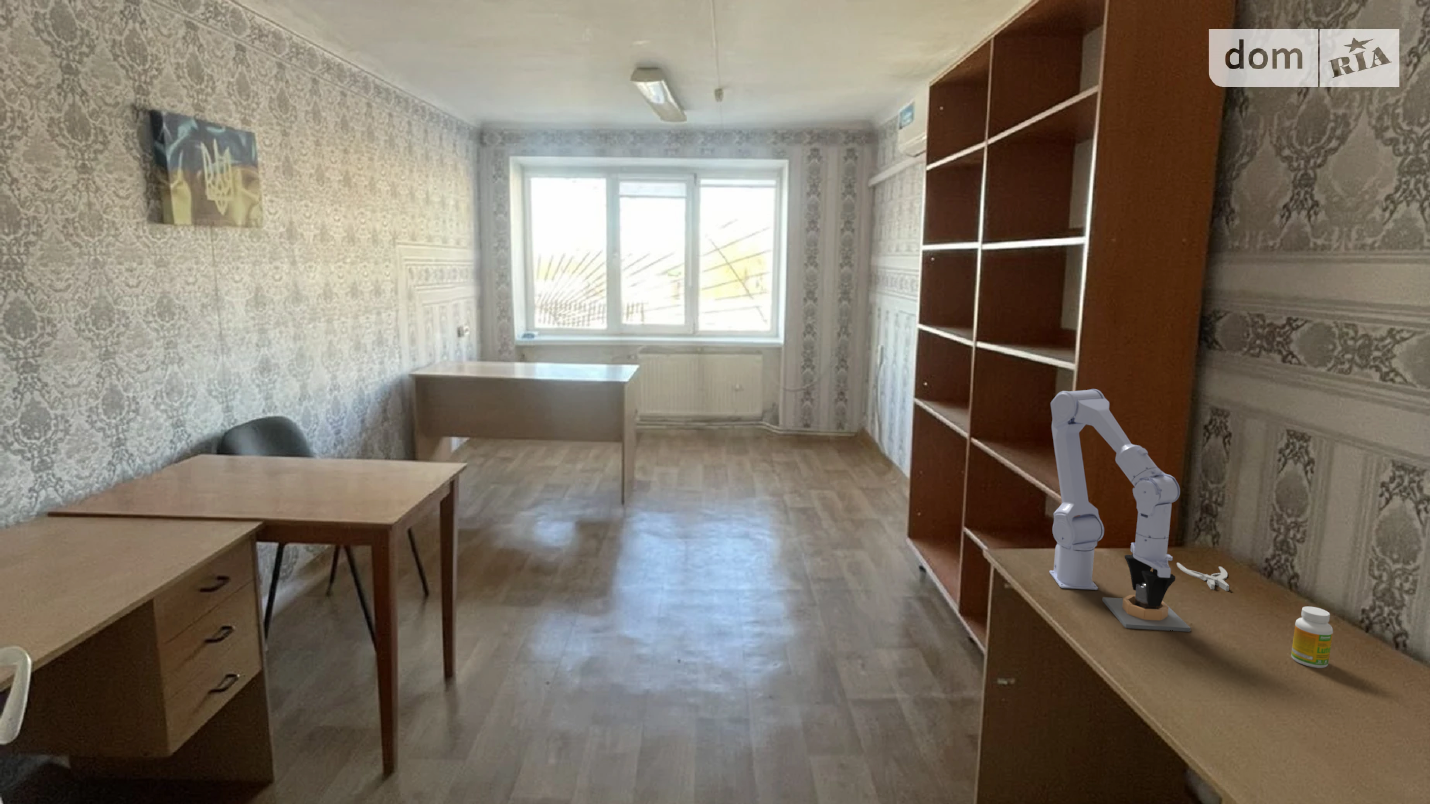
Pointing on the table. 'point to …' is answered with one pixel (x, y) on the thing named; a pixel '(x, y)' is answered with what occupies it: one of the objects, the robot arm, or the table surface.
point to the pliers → (1209, 577)
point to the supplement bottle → (1312, 638)
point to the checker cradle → (1145, 615)
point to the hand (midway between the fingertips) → (1146, 597)
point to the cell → (1142, 596)
